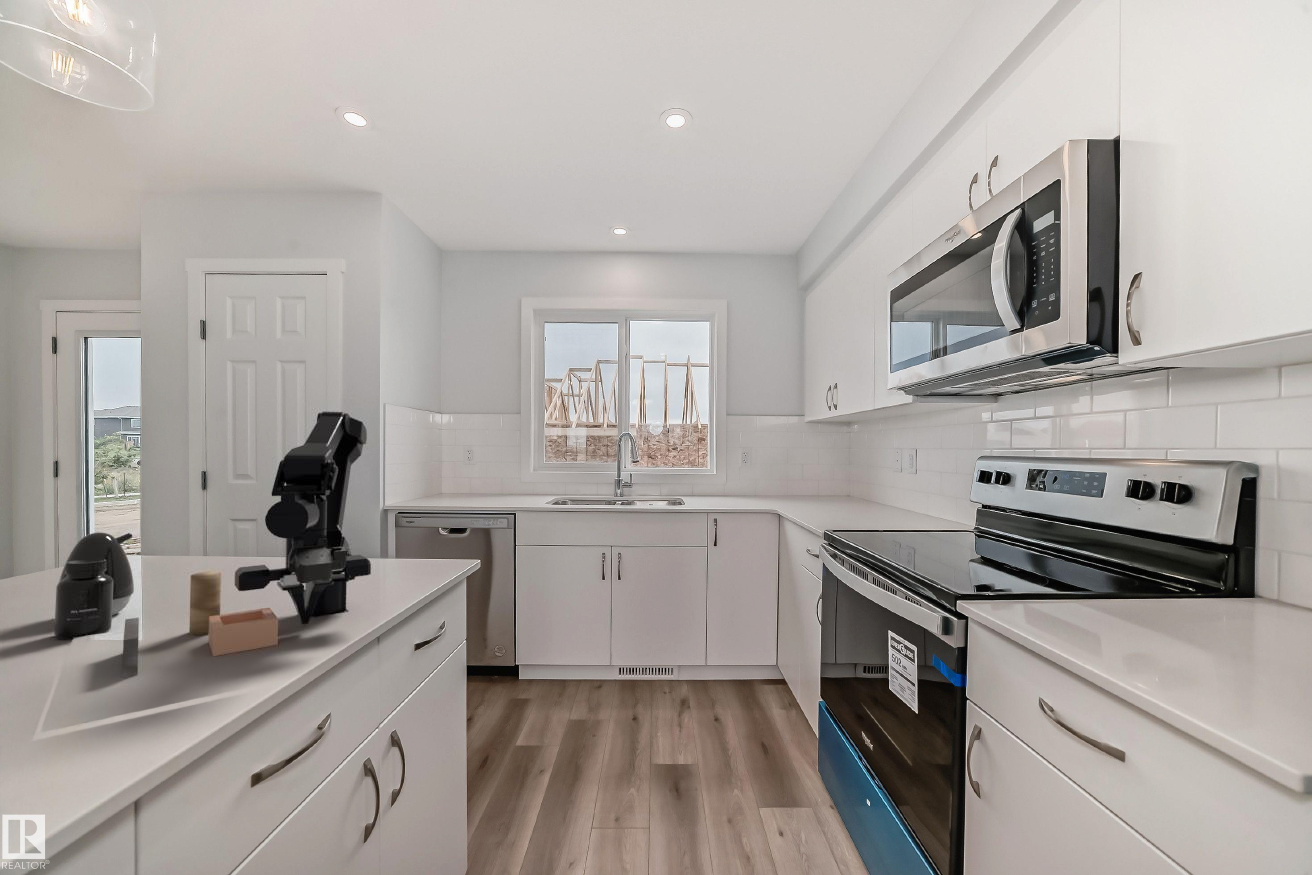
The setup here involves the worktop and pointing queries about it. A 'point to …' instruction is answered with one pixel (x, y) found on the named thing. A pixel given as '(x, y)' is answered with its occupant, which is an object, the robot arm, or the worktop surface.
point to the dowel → (204, 601)
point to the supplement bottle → (84, 600)
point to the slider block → (242, 631)
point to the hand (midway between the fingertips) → (304, 623)
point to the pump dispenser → (107, 563)
